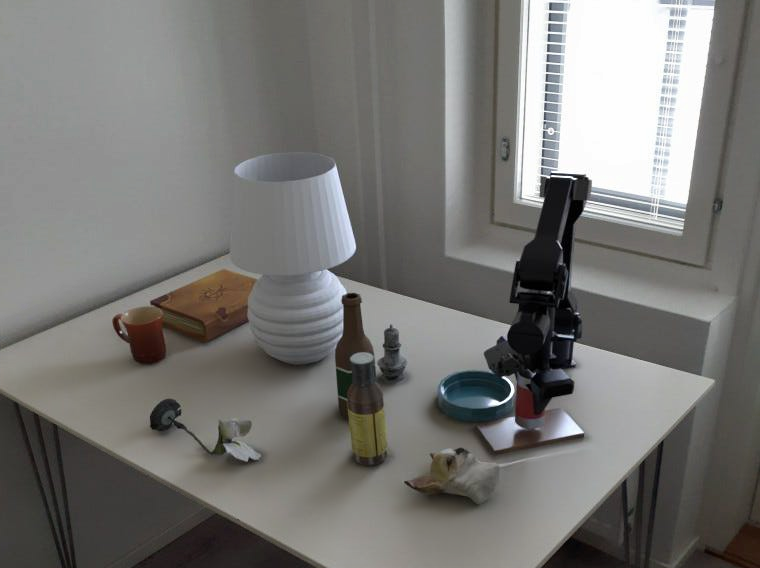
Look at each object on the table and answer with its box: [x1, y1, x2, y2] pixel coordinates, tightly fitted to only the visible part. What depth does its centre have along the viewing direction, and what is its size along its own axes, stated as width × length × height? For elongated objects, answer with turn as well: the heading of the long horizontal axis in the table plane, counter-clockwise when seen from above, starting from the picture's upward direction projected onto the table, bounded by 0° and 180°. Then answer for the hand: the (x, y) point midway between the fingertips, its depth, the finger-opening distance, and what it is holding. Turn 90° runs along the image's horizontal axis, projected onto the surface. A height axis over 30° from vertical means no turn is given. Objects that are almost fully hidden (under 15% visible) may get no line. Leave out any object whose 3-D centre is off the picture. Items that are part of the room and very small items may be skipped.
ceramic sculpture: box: [403, 447, 502, 505], centre depth 139 cm, size 11×9×15 cm
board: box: [474, 407, 585, 456], centre depth 154 cm, size 17×9×1 cm, turn 105°
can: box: [514, 367, 547, 429], centre depth 150 cm, size 5×5×10 cm
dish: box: [437, 369, 516, 423], centre depth 163 cm, size 14×14×3 cm
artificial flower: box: [149, 397, 262, 463], centre depth 155 cm, size 9×22×10 cm, turn 50°
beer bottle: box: [334, 292, 377, 421], centre depth 157 cm, size 8×8×24 cm
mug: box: [112, 305, 167, 365], centre depth 184 cm, size 12×9×10 cm
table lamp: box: [229, 151, 357, 365], centre depth 174 cm, size 25×25×40 cm
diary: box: [149, 268, 259, 344], centre depth 201 cm, size 23×19×6 cm
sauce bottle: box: [347, 352, 388, 467], centre depth 146 cm, size 6×6×20 cm
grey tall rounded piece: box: [377, 324, 408, 384], centre depth 171 cm, size 6×6×12 cm
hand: (530, 406), depth 151 cm, fingers closed on can, 5 cm apart
